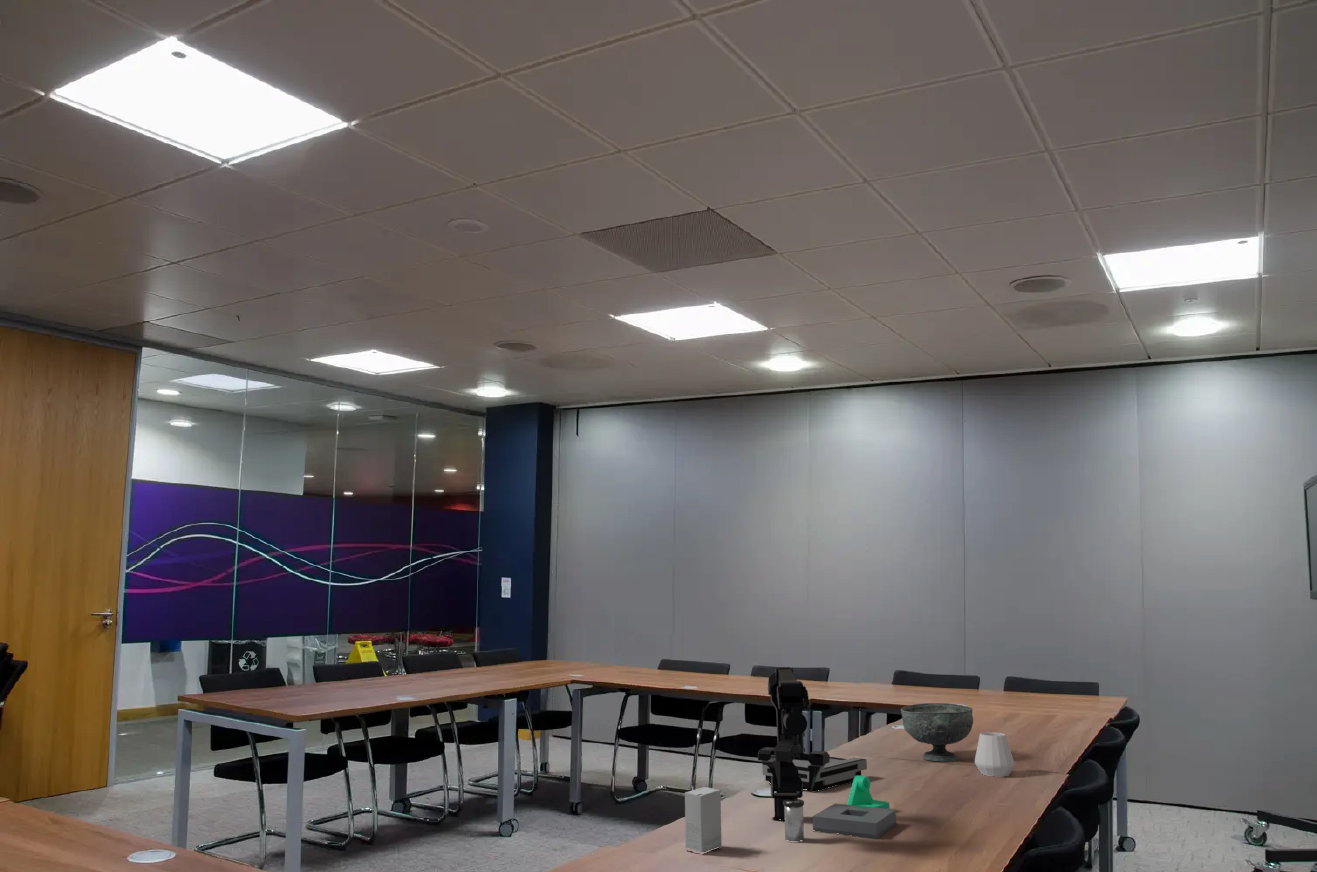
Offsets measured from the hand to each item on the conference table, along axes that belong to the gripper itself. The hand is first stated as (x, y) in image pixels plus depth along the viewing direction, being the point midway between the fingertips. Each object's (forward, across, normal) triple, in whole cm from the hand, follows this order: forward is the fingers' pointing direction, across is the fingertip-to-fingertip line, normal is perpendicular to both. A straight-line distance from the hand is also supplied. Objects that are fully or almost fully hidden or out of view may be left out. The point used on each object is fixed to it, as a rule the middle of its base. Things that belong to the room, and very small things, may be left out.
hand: (794, 789), depth 263 cm
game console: (+14, -22, +76) cm, 80 cm away
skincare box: (+13, -18, -20) cm, 30 cm away
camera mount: (+13, +8, +40) cm, 43 cm away
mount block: (+13, +10, +20) cm, 26 cm away
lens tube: (+13, 0, 0) cm, 13 cm away
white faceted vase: (+13, +30, +116) cm, 120 cm away
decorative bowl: (+13, +6, +138) cm, 139 cm away
